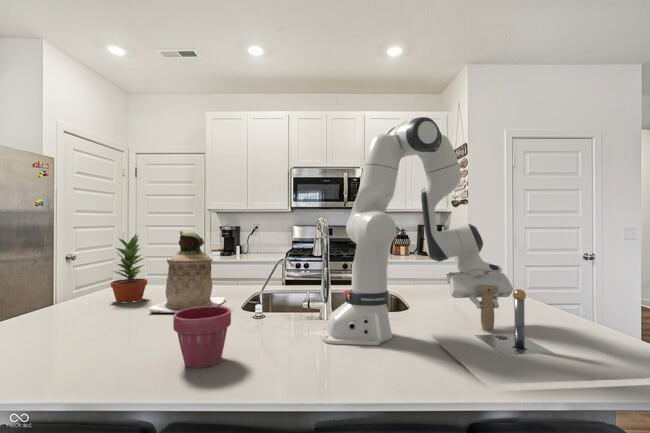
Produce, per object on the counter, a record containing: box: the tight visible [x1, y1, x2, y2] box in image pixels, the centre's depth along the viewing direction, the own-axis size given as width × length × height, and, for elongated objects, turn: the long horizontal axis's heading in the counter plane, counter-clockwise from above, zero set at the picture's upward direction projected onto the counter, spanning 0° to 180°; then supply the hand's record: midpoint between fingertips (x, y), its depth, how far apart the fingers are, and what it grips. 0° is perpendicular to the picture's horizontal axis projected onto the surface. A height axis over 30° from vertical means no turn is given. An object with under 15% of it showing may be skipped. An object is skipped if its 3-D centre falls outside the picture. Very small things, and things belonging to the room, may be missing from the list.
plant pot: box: [172, 305, 232, 369], centre depth 95 cm, size 14×14×13 cm
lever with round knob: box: [512, 288, 527, 350], centre depth 100 cm, size 3×3×16 cm
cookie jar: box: [147, 230, 226, 314], centre depth 154 cm, size 25×25×32 cm
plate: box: [473, 333, 555, 355], centre depth 104 cm, size 14×16×1 cm
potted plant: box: [110, 233, 148, 303], centre depth 165 cm, size 15×15×30 cm
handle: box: [476, 285, 498, 332], centre depth 117 cm, size 5×6×15 cm
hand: (488, 307), depth 117 cm, fingers open, 4 cm apart
